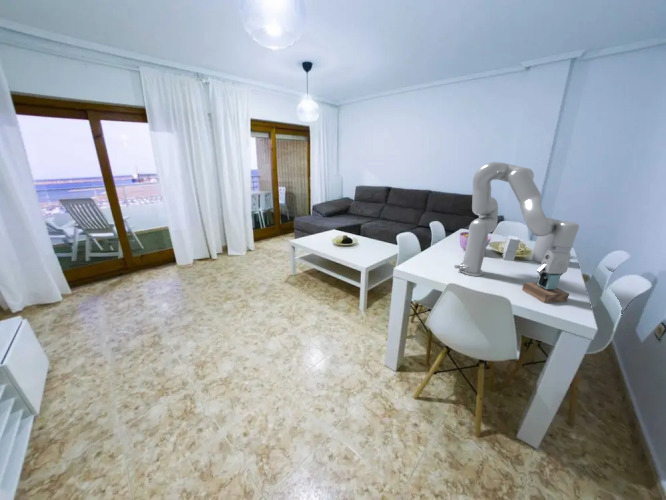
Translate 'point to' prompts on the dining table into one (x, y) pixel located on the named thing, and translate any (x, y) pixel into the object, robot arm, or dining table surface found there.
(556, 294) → the walnut plinth
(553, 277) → the teal block
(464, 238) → the bowl of food
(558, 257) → the robot arm
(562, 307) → the dining table surface
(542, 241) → the cylinder vase
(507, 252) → the skincare box
